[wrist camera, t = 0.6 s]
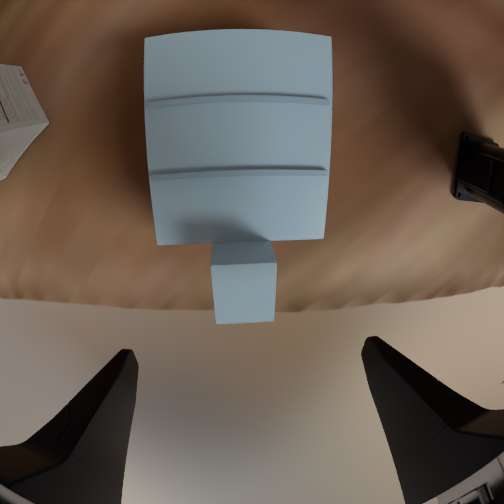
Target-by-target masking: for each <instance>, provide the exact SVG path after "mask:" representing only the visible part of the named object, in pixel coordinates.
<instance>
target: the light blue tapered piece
mask: <svg viewBox="0 0 504 504" xmlns="http://www.w3.org/2000/svg"><path fill="white" fill-rule="evenodd" d="M144 110H145V132H146V148H147V161H148V172H149V182H150V192H151V200H152V208H153V216H154V223H155V231H156V237H157V244H158V245H177V244H199V243H213V246H212V257H211V275H212V286H213V296H214V306H215V316H216V324H228V323H229V324H230V323H249V322H250V323H251V322H268V321H274V312H275V293H276V273H277V261H276V258H275V255H274V252H273V249H272V246H271V243H270V241H274V240H302V239H323V238H324V229H325V219H326V208H327V196H328V184H329V169H330V151H331V128H332V41H331V37H330V36H324V35H317V34H309V33H301V32H292V31H280V30H261V29H221V30H203V31H191V32H181V33H173V34H166V35H159V36H153V37H147V38H145V45H144Z"/></svg>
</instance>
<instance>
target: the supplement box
mask: <svg viewBox="0 0 504 504" xmlns="http://www.w3.org/2000/svg"><path fill="white" fill-rule="evenodd" d="M48 124H49V121H48V118H47V117H46V115H45V113H44V111H43V109H42V107H41V105H40V103H39V101H38V99H37V98H36V95H35V93H34V91H33V89H32V87H31V85H30V83H29V81H28V79H27V77H26V75H25V73H24V71H23V69H22V67H21V66H15V65H5V64H0V180H2V179H4V178H6V177H7V175H8V174H9V172H10V171H11V169H12V168H13V166H14V165H15V163H16V162H17V160H18V159H19V158H20V156H21V155H22V154H23V152H24V151H25V150H26V149H27V148H28V146H29V145H30V144H31V143H32V142H33V140H34V139H35V138H36V137H37V136H38V135H39V134H40V133H41V132H42V131H43V129H44V128H45V127H46V126H47V125H48Z"/></svg>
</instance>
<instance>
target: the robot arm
mask: <svg viewBox="0 0 504 504" xmlns="http://www.w3.org/2000/svg"><path fill="white" fill-rule="evenodd" d="M465 136H466V139H465ZM458 193H459V194H458ZM454 198H456V199H458V200H464V201H473V202H481V203H485V204H487V205H489V206H491V207H493V208H494V209H496V210H498V211H500V212H502V213H503V214H504V148H501V147H499V145H498V144H497V143H494V142H492V141H489V140H486V139H484V138H481V137H478V136H476V135H473V134H470V133H467V132H462V134H461V140H460V151H459V160H458V168H457V175H456V182H455V188H454ZM361 356H362V360H363V364H364V368H365V372H366V376H367V381H368V384H369V388H370V391H371V394H372V397H373V400H374V403H375V405H376V408H377V411H378V414H379V417H380V420H381V423H382V426H383V429H384V432H385V435H386V438H387V441H388V444H389V447H390V450H391V454H392V457H393V461H394V464H395V467H396V470H397V474H398V478H399V482H400V485H401V489H402V492H403V496H404V500H405V504H423V503H425V502H427V501H429V500H430V499H432V498H434V497H437V499H438V502H439V504H504V409H503V410H489V409H485V408H483V407H481V406H479V405H477V404H475V403H474V402H472V401H470V400H468V399H467V398H465V397H463V396H461V395H460V394H458V393H457V392H455V391H453V390H452V389H450V388H449V387H448V386H446V385H445V384H443V383H442V382H440V381H438V380H437V379H436V378H435V377H433V376H432V375H431V374H429V373H428V372H426V371H425V370H424V369H422V368H421V367H419V366H418V365H416V364H415V363H414V362H412V361H411V360H410V359H408V358H407V357H405V356H404V355H403V354H401V353H400V352H399V351H397V350H396V349H394V348H393V347H392V346H390V345H389V344H387V343H386V342H385V341H383V340H382V339H380V338H379V337H377V336H371V337H368V338H366V340H365V343H364V346H363V349H362V353H361ZM137 380H138V362H137V360H136V357H135V355H134V352H133V351H132V350H131V349H122V350H120V351H119V352H118V353H117V354H116V355H115V356H114V357H113V358H112V359H111V360H110V361H109V362H108V363H107V364H106V365H105V366H104V367H103V368H102V369H101V370H100V371H99V372H98V373H97V374H96V375H95V376H94V377H93V378H92V379H91V380H90V381H89V382H88V383H87V384H86V385H85V386H84V387H83V388H82V389H81V390H80V392H78V393H77V395H76V396H75V397H74V398H73V399H72V400H71V401H70V402H69V403H68V405H66V406H65V407H64V408H63V409H62V410H61V411H60V412H59V413H58V414H57V415H56V416H55V417H54V418H53V419H52V420H50V421H49V422H48V423H47V424H46V425H45V426H43V427H42V428H41V429H40V430H39V431H37V432H36V433H35V434H34V435H32V436H31V437H30V438H29V439H28V440H26V441H25V442H23V443H20V444H17V445H11V446H3V447H0V504H121V498H122V487H123V479H124V471H125V463H126V456H127V449H128V442H129V437H130V430H131V425H132V419H133V413H134V408H135V402H136V392H137Z"/></svg>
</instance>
